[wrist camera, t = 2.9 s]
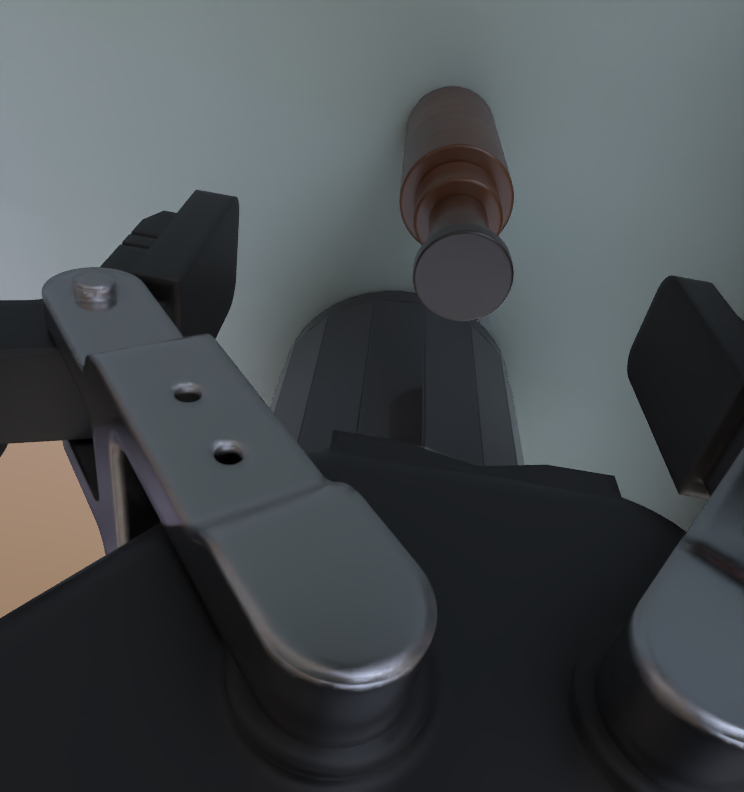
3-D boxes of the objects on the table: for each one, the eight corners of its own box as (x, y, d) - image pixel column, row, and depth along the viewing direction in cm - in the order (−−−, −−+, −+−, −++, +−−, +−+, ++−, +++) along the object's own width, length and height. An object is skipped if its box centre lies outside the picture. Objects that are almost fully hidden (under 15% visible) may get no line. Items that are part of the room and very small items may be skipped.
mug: (334, 251, 24) (295, 396, 17) (552, 348, 25) (598, 515, 18) (232, 477, 30) (175, 646, 23) (411, 541, 32) (405, 717, 25)
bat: (492, 79, 20) (534, 201, 12) (496, 170, 22) (536, 332, 14) (401, 92, 20) (382, 219, 12) (411, 182, 22) (401, 345, 14)
